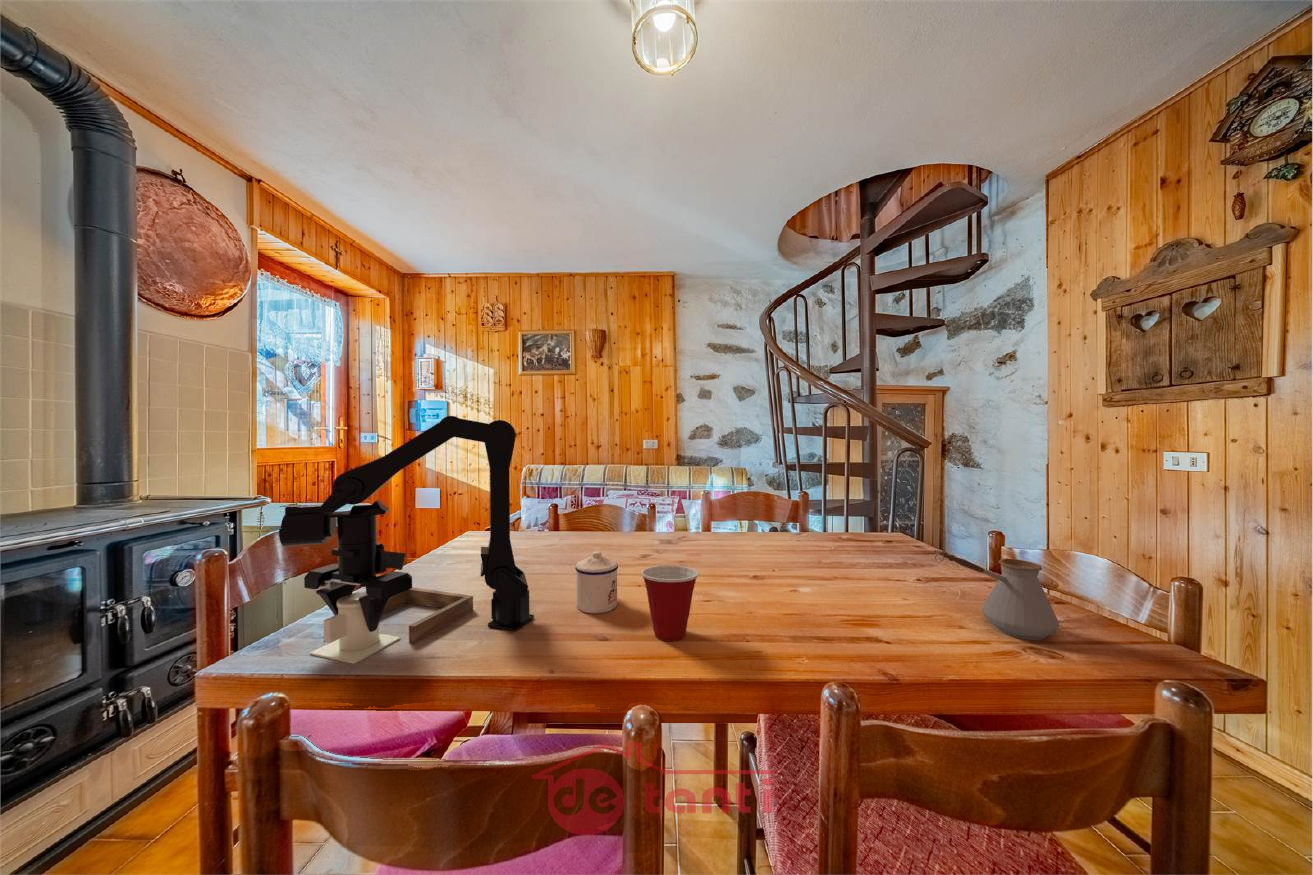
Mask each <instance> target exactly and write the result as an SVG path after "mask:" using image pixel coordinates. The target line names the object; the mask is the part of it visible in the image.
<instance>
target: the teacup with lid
mask: <svg viewBox="0 0 1313 875" xmlns="http://www.w3.org/2000/svg"><path fill="white" fill-rule="evenodd" d="M618 569H619V565H618V562H617V561H616V560H614V559H612V558H609V557H607V556H605V555H603V554H602V552H601V551H599V550H597V551H596V550H595V551H593V552H592V553H591V556H589V557H586V558H585V559H581V560H579V561H578V562H577V563H576V564H575V571H576V608H577V609H578V610H579V611H581V612H583V613H586V614H603V613H608V612H610V611H613V609H615V608H616V607H617V605H618Z"/></svg>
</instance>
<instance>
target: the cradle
mask: <svg viewBox="0 0 1313 875" xmlns="http://www.w3.org/2000/svg"><path fill="white" fill-rule="evenodd" d="M406 604H414V605H419V606H427V607H433V608H439V609H438V610H437V611H435V612H433V613H431V614H429V615H427V616H424V617H423V618H421V619H419V620H417V621H415V622H413V623H411V624H409V625H408V642H409V643H412V644H416V643H417V642H419V641H421V640H423V639H424V638H426V637H428V636H430V635H432V634H433V633H434V632H437V631H438V630H441V629H442V628H443V627H445V626H447V625H449V624H451V623H453V622H455V621H456V620H459V619H460V618H462V617H464V616H465V615H467V614H468V613H470V612H472V611H474V595H472V594H471V595H469V594H463V593H457V592H456V593H455V592H447V591H442V590H441V591H440V590H434V589H428V588H427V589H426V588H420V587H419V588H418V587H413V586H412V588H411V589H409V590H406V591H404V592H402V593H399V594H397V595H395V596H392V597H390V598H389V599H388V601H387V603H386V605H385V608H384V610H383V613H382V615H384V614H386V613H388V612H390V611H393V610H395V609H398V608H399V607H403V606H404V605H406Z"/></svg>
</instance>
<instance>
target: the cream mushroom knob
mask: <svg viewBox="0 0 1313 875" xmlns="http://www.w3.org/2000/svg"><path fill="white" fill-rule="evenodd" d="M366 595H367V593H366V590H365V591H358V592H354V593H353V592H352V594H349V595H346V596H344V597H341V598H340V599H338V600H337V607H338V615H333V616H330V617H328V618H325V619H323V640H324V641H323V642H325V643H327V644H329V643H332V642H334V641H336V640H338V639H339V649H340V650H343V651H356V650H361V649H364V648H367V647H370V646H372V645H374V644H375V643H377V642H378V641H379V639H380V634H381V632H380V631H381V630H380V623H379V624H378V627H377V629H376V630H375V631H373V632H370V631H369V629H368V627H367V624H366V621H365V617H364V614H363V611H362V608H361V604H360V601H359V598H361V597H363V596H366Z"/></svg>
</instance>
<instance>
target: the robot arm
mask: <svg viewBox="0 0 1313 875" xmlns="http://www.w3.org/2000/svg"><path fill="white" fill-rule="evenodd" d="M516 436H517V434H516V430H515V428H514V426H513V425H512V424H511V423H509V422H508V421H506V420H501V419H497V420H494V421H491V422H489V423H487V422H481V421H475V420H470V419H464V418H459V416H454V415H447V416H444V417H443V418H442V419H441V420H440V421H439V422H437V423H436V424H434V425H432V426H431V427H429V428H428V429H426V430H425V431H423V432H421V433H420V434H418V435H417V436H415V437H413V438H411V439H410V440H408V441H406V442H405V443H403V444H402V445H400V446H398V447H396V448H395V449H393V450H392V451H390V452H389V453H387V454H385V455H383V456H382V457H379V458H377V459H374V460H372V461H368V462H366V463H365V464H362V465H359V466H357V467H355V468H352V469H349V470H347V471H345V472H343V473H341V474H339V475H338V476H337V477H336V478H335V479H334V480H333V483H332V484H333V485H332V492H331V493H330V495H329V496H328V497H327V498H326V500H324V501H323V503H322V504H307V505H303V504H289V505H287V506H286V507H284V515H283V516H282V520H281V525H280V527H279V529H278V535H279V536H278V537H279V542H280V544H281V545H282V547H284V548H285V547H286V548H287V547H295V546H296V547H297V546H308V545H309V546H310V545H319V544H320V545H321V544H322V545H323V544H326V543H328V541H329V539H330V538H333V537H335V536H336V532H337V547H335V548H332V549H331V556H334V557H337V562H338V563H331V564H328V565H324V566H321V567H317V568H315V569H311V570H309V571H308V572H307V573H306V575H305V576H304V577H303V580H304V582H303V583H304V587H303V588H304V589H310V590H315V594H316V595H319V596H320V598H321V600H323V602H324V603H325V604H326V605H327V607H328V608H329V610H330V611H331V612H332V614H333V616H335V615H338V607H337V600H338V599H340V598H341V597H344V596H346V595H349V594H353V592H354V590H355V589H356V587H364V588H365V591H366V593H367V595H366V596H363V597H361V598H359V601H360V604H361V608H362V611H363V614H364V617H365V621H366V624H367V627H368V629H369V631H370V632H373V631H375V630H376V629H377V627H378V624H379V625H380V621H381V618H382V615H383V614H382V613H383V610H384V608H385V605H386V603H387V601H388V599H389V598H390V597H392V596H395V595H397V594H399V593H402V592H404V591H406V590H409V589H411V588H412V587H413V576H412V575H411V574H410V573H409V572H405V571H404V572H403V568H404V564H405V561H406V560H405V559H406V557H407V553H406V552H397V551H388V550H385V545H384V544H383V543H382V542H378V541H377V540H378V534H377V531H378V530H377V516H380V515H385V514H386V513H388V512H389V510H390V507H389V506H387V505H385V504H384V503H382V502H381V500H380V499H376V500H375V501H374V502H373V503H372V504H360V503H362V502H365V501H366V500H367V499H369V498H371V497H372V496H374V494H376V493H377V492H378V491H379V490H380V489H381V488H382V487H384V486H385V485H386V484H387V483H388V482H389V481H390V480H391V479H393V477H395V476H396V475H397V474H398V473H399V472H400V471H403V469H406V468H407V467H408V466H410V465H412V464H413V463H415V462H416V461H418V460H419V459H421V458H423V457H424V456H426V455H427V454H429V453H431V452H432V451H434V450H435V449H438V448H439V447H440V446H442V445H443V444H445V443H447V442H448V441H450V440H451V439H453V438H458V439H464V440H468V441H475V442H480V443H484V446H485V452H486V457H487V461H488V466H489V540H488V546H480V558H481V564H480V577H482V578H483V577H484V582H485V584H486V586H488V587H489V588H490V589H492V590H493V592H492V598H491V602H490V604H491V605H490V607H491V610H490V611H491V612H490V613H491V614H490V615H491V621H490V622H488V623H487V627H489V628H495V629H500V630H507V631H508V630H509V631H517V630H519V629H520V628H522V627H523V626H525V625H526V624H528V623H529V622H530V621H532V620H533V619H534V618H535V614H530V589H529V585H528V581H527V577H526V573H525V572H524V571H523V570H522V569H520V568H519V567H518V566H517V565H516V562H515V558H514V554H513V548H512V541H511V522H510V521H511V502H510V498H511V497H510V493H511V491H510V468H511V464H512V460H513V459H512V458H513V454H514V449H515V443H516V438H517V437H516ZM358 504H359V505H358ZM346 505H353V506H352V507H351V509H350V510H343V511H338V510H340V509H341V508H343V507H345V506H346ZM387 569H389V570H391V569H394V570H392V571H390V572H387V571H388V570H387ZM396 569H397V571H396ZM382 573H384V574H382ZM377 574H381V575H379V576H378V575H377ZM319 588H320V589H319Z"/></svg>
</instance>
